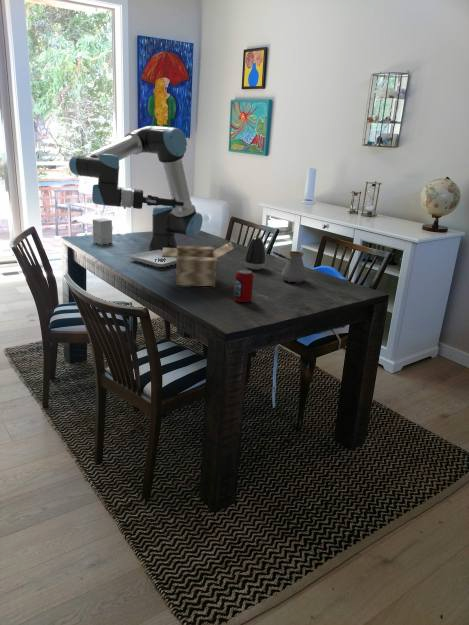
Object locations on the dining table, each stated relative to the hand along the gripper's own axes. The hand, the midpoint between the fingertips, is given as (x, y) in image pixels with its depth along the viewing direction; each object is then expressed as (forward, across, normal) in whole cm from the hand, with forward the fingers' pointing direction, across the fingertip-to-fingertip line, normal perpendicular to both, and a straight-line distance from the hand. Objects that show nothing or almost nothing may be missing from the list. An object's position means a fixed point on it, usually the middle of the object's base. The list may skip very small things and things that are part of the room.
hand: (191, 204), depth 205 cm
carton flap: (+15, +3, -17) cm, 23 cm away
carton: (+2, 0, -32) cm, 32 cm away
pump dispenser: (+37, -21, -28) cm, 51 cm away
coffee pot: (+45, +1, -29) cm, 54 cm away
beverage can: (+20, +26, -33) cm, 46 cm away
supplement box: (-35, -68, -29) cm, 82 cm away
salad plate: (-8, -31, -30) cm, 44 cm away
